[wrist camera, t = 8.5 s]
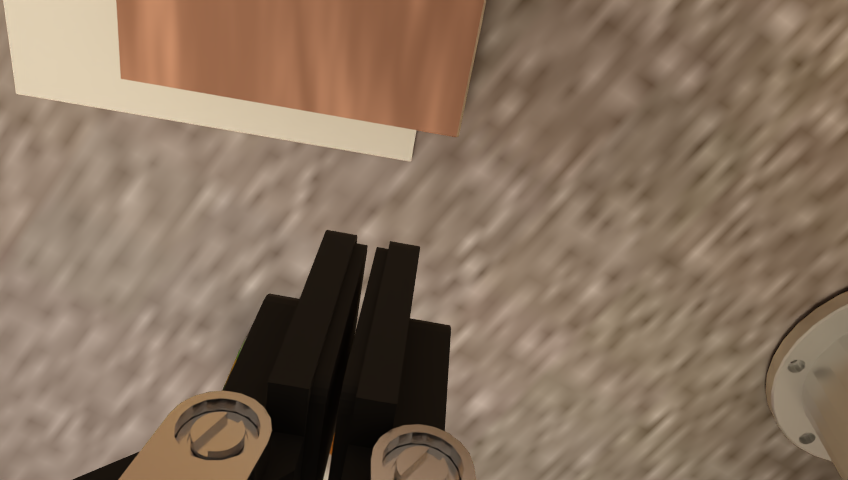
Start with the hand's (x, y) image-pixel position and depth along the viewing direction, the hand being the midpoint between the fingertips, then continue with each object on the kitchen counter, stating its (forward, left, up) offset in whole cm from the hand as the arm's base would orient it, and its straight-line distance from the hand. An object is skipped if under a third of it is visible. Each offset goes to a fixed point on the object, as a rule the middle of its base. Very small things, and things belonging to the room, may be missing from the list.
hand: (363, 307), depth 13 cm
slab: (-2, 0, -19) cm, 19 cm away
